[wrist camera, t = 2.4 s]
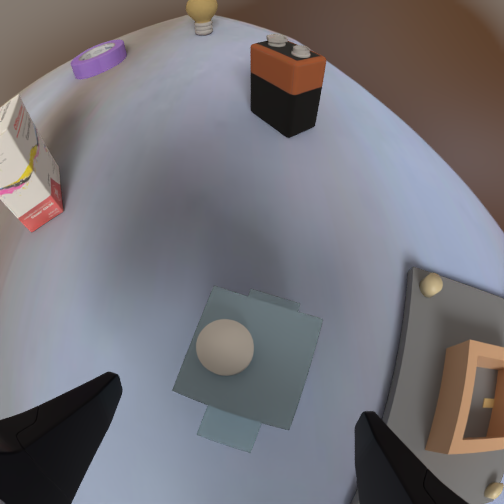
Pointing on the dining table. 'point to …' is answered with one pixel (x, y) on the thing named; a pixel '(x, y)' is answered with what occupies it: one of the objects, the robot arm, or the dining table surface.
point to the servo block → (247, 364)
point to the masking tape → (98, 59)
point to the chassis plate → (451, 384)
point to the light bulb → (202, 14)
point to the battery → (286, 84)
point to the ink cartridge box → (27, 169)
